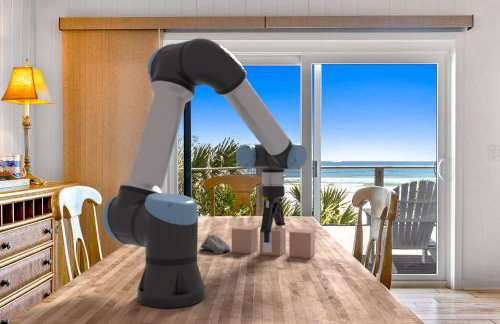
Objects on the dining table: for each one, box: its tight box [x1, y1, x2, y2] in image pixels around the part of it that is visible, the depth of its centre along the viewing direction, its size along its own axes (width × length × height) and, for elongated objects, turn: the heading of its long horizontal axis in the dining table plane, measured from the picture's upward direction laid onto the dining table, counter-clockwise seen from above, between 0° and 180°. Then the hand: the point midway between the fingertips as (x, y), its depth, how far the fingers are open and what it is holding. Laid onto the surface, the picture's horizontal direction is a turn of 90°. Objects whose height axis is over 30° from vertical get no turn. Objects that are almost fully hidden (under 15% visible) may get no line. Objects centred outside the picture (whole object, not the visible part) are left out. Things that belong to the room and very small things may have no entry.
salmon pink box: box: [288, 228, 316, 259], centre depth 154 cm, size 7×7×8 cm
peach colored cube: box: [231, 225, 259, 255], centre depth 160 cm, size 7×7×8 cm
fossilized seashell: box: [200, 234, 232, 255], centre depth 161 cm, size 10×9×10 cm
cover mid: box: [259, 227, 287, 257], centre depth 157 cm, size 7×7×8 cm
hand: (273, 248), depth 157 cm, fingers open, 13 cm apart
